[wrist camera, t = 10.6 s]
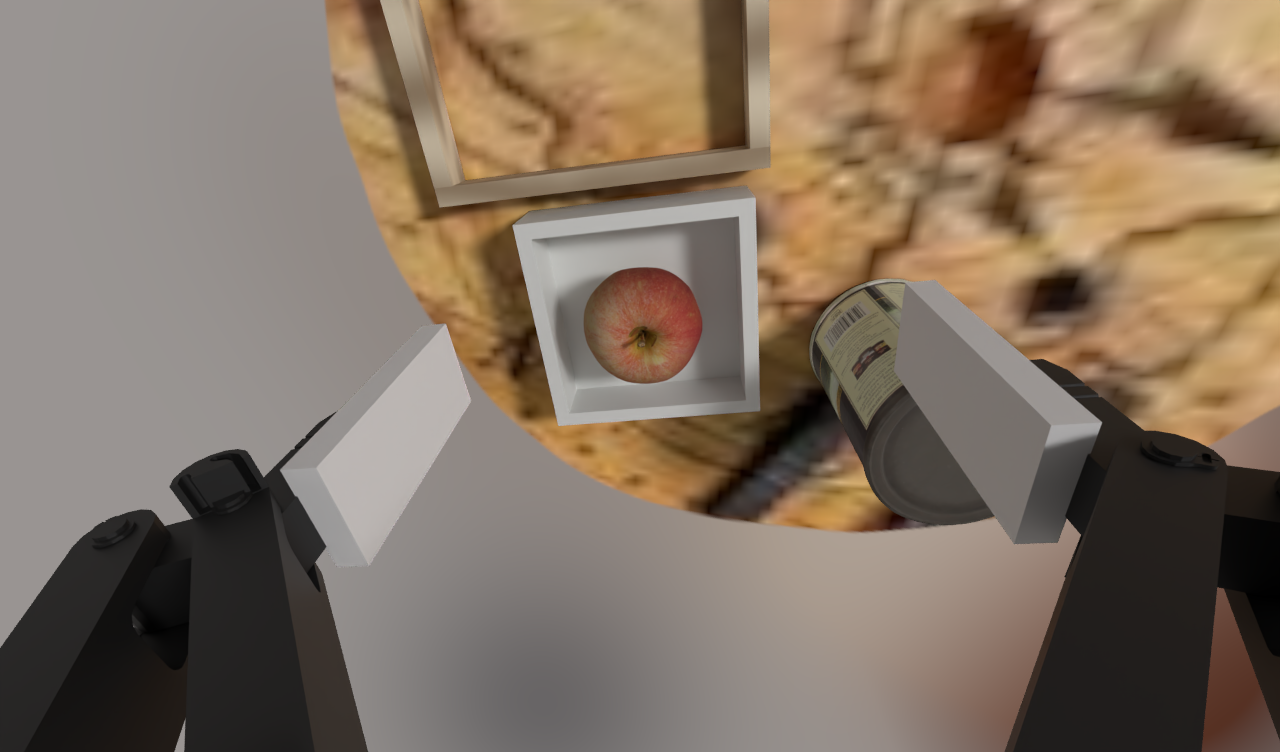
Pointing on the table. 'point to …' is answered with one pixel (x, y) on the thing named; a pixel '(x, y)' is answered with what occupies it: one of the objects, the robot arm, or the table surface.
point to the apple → (642, 324)
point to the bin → (660, 238)
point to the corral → (456, 190)
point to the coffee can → (887, 409)
